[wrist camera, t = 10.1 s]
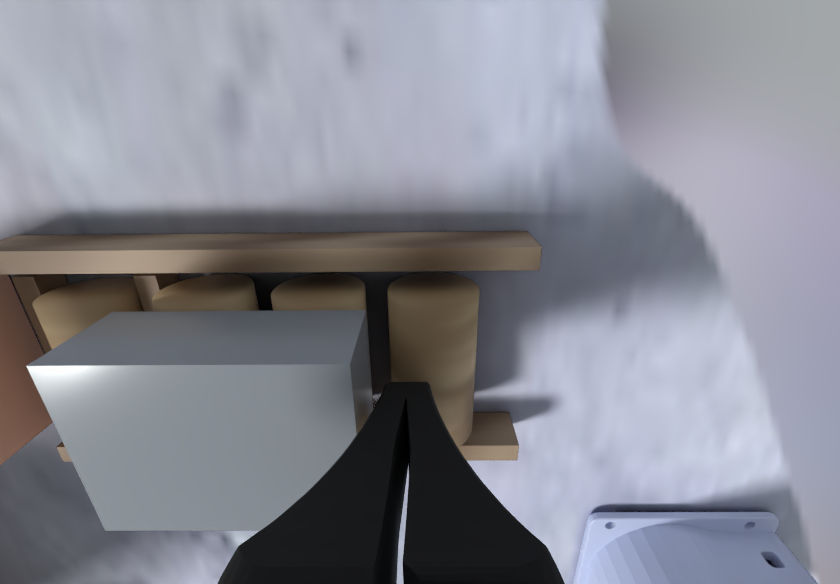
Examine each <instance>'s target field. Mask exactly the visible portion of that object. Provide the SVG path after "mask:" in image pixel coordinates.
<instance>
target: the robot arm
mask: <svg viewBox="0 0 840 584" xmlns="http://www.w3.org/2000/svg"><path fill="white" fill-rule="evenodd" d="M408 465H409V488H408V503H407V518H406V531H405V543H404V555H403V578H404V584H564V581H563V579H562V577H561V574H560V572H559V570H558V568H557V566H556V564H555V562H554V560H553V558H552V556H551V554H550V552H549V550H548V548H547V547H546V546H545V545H544V544H543V543H542V542H541V541H540V540H539V539H537V538H536V537H535V536H534V535H533V534H532V533H530V532H529V531H528V530H527V529H526V528H525V527H524V526H523V525H522V524H521V523H520V522H519V521H518V520H517V519H516V518H515V517H514V516H513V515H512V514H511V513H510V512H509V511H508V510H507V509H506V508H505V507H504V506H503V505H502V504H501V503H500V502H499V501H498V499H497V498H496V497H495V496H494V495H493V494H492V493H491V492H490V490H489V489H488V488H487V487H486V486H485V485H484V484H483V482H482V481H481V480H480V478H479V477H478V476H477V475H476V473H475V472H474V471H473V469H472V468H471V466H470V465H469V464H468V462H467V461H466V459H465V458H464V456H463V455H462V453H461V452H460V450H459V449H458V447H457V445H456V444H455V442H454V440H453V439H452V437H451V435H450V433H449V431H448V430H447V428H446V426H445V424H444V422H443V420H442V418H441V415H440V413H439V411H438V409H437V406H436V404H435V401H434V398H433V395H432V391H431V387H430V384H429V383H428V382H388V383H387V384H386V385H385V387H384V390H383V392H382V394H381V396H380V398H379V400H378V402H377V404H376V405H375V407H374V409H373V411H372V412H371V414H370V416H369V417H368V419H367V420H366V422H365V424H364V425H363V427H362V428H361V430H360V431H359V432H358V434H357V435H356V437H355V438H354V439H353V441H352V442H351V444H350V445H349V446H348V448H347V449H346V450H345V451H344V453H343V454H342V455H341V456H340V457H339V459H338V460H337V461H336V462H335V463H334V464H333V466H332V467H331V468H330V469H329V470H328V471H327V472H326V473H325V474H324V475H323V476H322V477H321V478H320V480H319V481H318V482H317V483H316V484H315V485H314V486H313V487H312V488H311V489H310V490H309V491H308V492H306V493H305V494H304V495H303V496H302V497H301V498H300V499H299V500H297V501H296V502H295V503H294V504H293V505H292V506H291V507H289V508H288V509H287V510H286V511H285V512H284V513H283V514H281V515H280V516H279V517H278V518H277V519H275V520H274V521H273V522H271V523H270V524H269V525H267V526H266V527H265V528H263V529H262V530H261V531H259V532H258V533H256V534H255V535H254V536H252V537H251V538H250V539H248V540H247V541H245V542H244V543H242V544H241V545H239V546H238V548H237V550H236V551H235V553H234V555H233V556H232V558H231V560H230V562H229V563H228V565H227V567H226V569H225V570H224V572H223V574H222V576H221V578H220V580H219V582H218V584H396V580H397V558H398V541H399V531H400V523H401V515H402V508H403V500H404V493H405V485H406V477H407V470H408ZM779 522H780V521H779V519H778V518H777V517H776V516H775V515H774V514H773V513H771V512H596V513H593V514H591V515H590V516H589V518H588V520H587V524H586V529H585V533H584V538H583V542H582V546H581V551H580V555H579V559H578V564H577V568H576V573H575V577H574V581H573V584H818V583H817V582H816V581H815V579H814V578H813V577H812V576H811V575H810V573H809V572H808V571H807V570H806V569H805V568H804V566H803V565H802V564H801V563H800V562H799V560H798V559H797V558H796V557H795V556H794V555H793V553H792V552H791V551H790V550H789V549H788V548H787V546H786V545H785V544H784V543H783V542H782V540H781V539H780V538H779V537H778V536H777V535H776V533H775V532H776V530H777V528H778V526H779Z"/></svg>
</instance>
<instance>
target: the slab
mask: <svg viewBox="0 0 840 584" xmlns="http://www.w3.org/2000/svg"><path fill="white" fill-rule="evenodd" d="M26 367H27V369H28V371H29V373H30V375H31V377H32V379H33V381H34V383H35V385H36V387H37V390H38V392H39V394H40V396H41V398H42V400H43V402H44V404H45V406H46V408H47V410H48V413H49V415H50V417H51V419H52V421H53V423H54V425H55V427H56V429H57V431H58V433H59V435H60V438H61V440H62V442H63V444H64V446H65V448H66V450H67V452H68V454H69V456H70V458H71V460H72V463H73V465H74V467H75V469H76V471H77V473H78V475H79V477H80V479H81V481H82V483H83V485H84V488H85V490H86V492H87V494H88V496H89V498H90V500H91V502H92V504H93V506H94V508H95V510H96V513H97V515H98V517H99V519H100V521H101V523H102V525H103V527H104V529H105V531H261V530H262V529H263V528H265V527H266V526H267V525H269V524H270V523H271V522H273V521H274V520H275V519H277V518H278V517H279V516H280V515H281V514H283V513H284V512H285V511H286V510H287V509H288V508H289V507H291V506H292V505H293V504H294V503H295V502H296V501H297V500H299V499H300V498H301V497H302V496H303V495H304V494H305V493H306V492H308V491H309V490H310V489H311V488H312V487H313V486H314V485H315V484H316V483H317V482H318V481H319V480H320V478H321V477H322V476H323V475H324V474H325V473H326V472H327V471H328V470H329V469H330V468H331V467H332V466H333V464H334V463H335V462H336V461H337V460H338V459H339V457H340V456H341V455H342V454H343V453H344V451H345V450H346V449H347V448H348V446H349V445H350V444H351V442H352V441H353V439H354V438H355V437H356V435H357V434H358V432H359V431H360V430H361V428H362V427H363V425H364V424H365V422H366V420H367V419H368V417H369V416H370V414H371V412H372V411H373V403H372V389H371V375H370V361H369V347H368V333H367V319H366V310H310V311H152V312H111V313H110V314H108V315H107V316H105V317H103V318H102V319H100V320H99V321H97V322H95V323H94V324H92V325H91V326H89V327H87V328H86V329H84V330H83V331H81V332H79V333H78V334H76V335H75V336H73V337H72V338H70V339H68V340H67V341H65V342H64V343H62V344H60V345H59V346H57V347H56V348H54V349H52V350H51V351H49V352H48V353H46V354H44V355H43V356H41V357H40V358H38V359H36V360H35V361H33V362H32V363H30V364H28V365H27V366H26Z"/></svg>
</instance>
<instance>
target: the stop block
mask: <svg viewBox="0 0 840 584" xmlns="http://www.w3.org/2000/svg"><path fill="white" fill-rule="evenodd" d="M43 355H44V353H43V351H42V348H41V346H40V344H39V342H38V340H37V337H36V335H35V333H34V331H33V328H32V326H31V324H30V322H29V320H28V317H27V315H26V313H25V311H24V309H23V306H22V304H21V302H20V300H19V297H18V295H17V293H16V291H15V289H14V286H13V284H12V282H11V280H10V278H9V275H8V274H0V465H1V464H3V463H4V462H5V461H6V460H7V459H9V458H10V457H11V456H12V455H14V454H15V453H16V452H17V451H18V450H20V449H21V448H22V447H23V446H24V445H26V444H27V443H28V442H29V441H31V440H32V439H33V438H34V437H35V436H37V435H38V434H39V433H40V432H41V431H43V430H44V429H45V428H46V427H47V426H49V425H50V424H51V423H52V422H53V421H52V419H51V417H50V415H49V413H48V410H47V408H46V406H45V404H44V402H43V400H42V398H41V396H40V394H39V392H38V390H37V387H36V385H35V383H34V381H33V379H32V377H31V375H30V373H29V371H28V369H27V367H26V366H27V365H28V364H30V363H32V362H33V361H35V360H36V359H38V358H40V357H41V356H43Z"/></svg>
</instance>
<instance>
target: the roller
mask: <svg viewBox="0 0 840 584" xmlns="http://www.w3.org/2000/svg"><path fill="white" fill-rule="evenodd" d="M32 305H33V308H34V310H35V312H36V314H37V317H38V319H39V321H40V323H41V326H42V328H43V330H44V332H45V335H46V337H47V339H48V341H49V344H50V346H51V348H52V349H54V348H56V347H57V346H59V345H60V344H62V343H64V342H65V341H67V340H68V339H70V338H72V337H73V336H75V335H76V334H78V333H79V332H81V331H83V330H84V329H86V328H87V327H89V326H91V325H92V324H94V323H95V322H97V321H99V320H100V319H102V318H103V317H105V316H107V315H108V314H110V313H111V312H144V309H143V306H142V303H141V300H140V296H139V293H138V290H137V287H136V284H135V281H134V279H132V278H97V279H91V280H86V281H81V282H76V283H73V284H69V285H65V286H62V287H59V288H56V289H54V290H51V291H49V292H47V293H45V294H43V295H41V296H39V297H38V298H36V299H35V300H34V302H33V304H32Z"/></svg>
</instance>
